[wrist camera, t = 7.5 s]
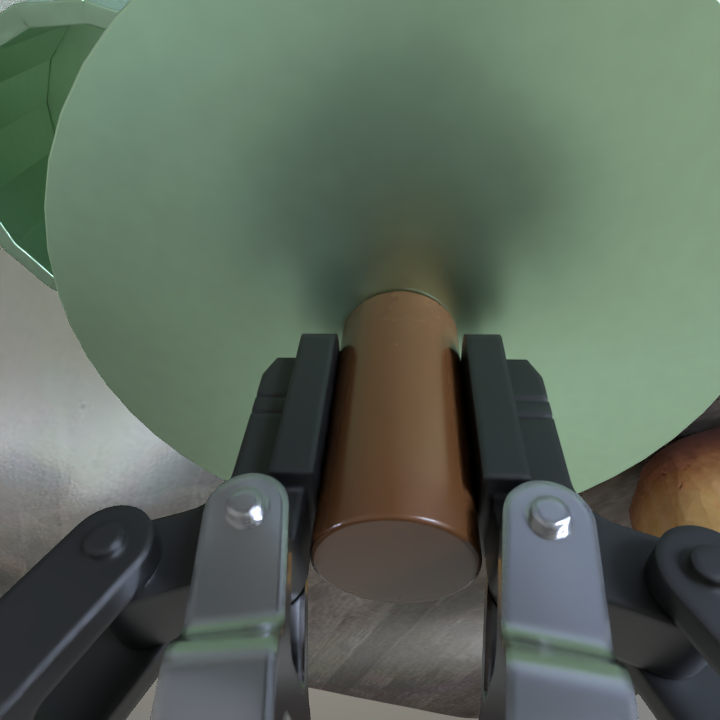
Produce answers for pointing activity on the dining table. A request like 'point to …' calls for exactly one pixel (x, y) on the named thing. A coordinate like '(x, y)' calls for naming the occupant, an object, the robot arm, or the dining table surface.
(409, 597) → the pot lid
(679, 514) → the butternut squash
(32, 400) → the dining table surface
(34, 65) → the pot
